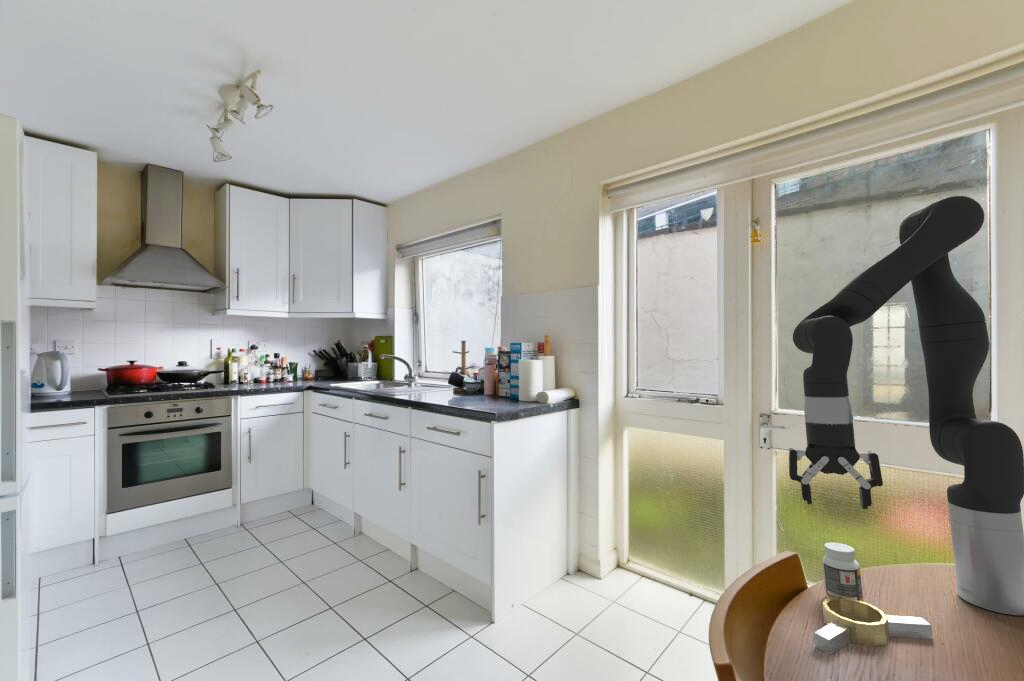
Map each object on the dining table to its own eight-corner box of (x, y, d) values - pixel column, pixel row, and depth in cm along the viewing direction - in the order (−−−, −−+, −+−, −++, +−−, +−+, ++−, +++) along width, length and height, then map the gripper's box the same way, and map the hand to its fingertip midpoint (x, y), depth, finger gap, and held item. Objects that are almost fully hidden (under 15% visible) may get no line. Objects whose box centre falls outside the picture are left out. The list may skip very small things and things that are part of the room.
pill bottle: (870, 610, 78) (865, 553, 79) (835, 608, 79) (830, 552, 80) (852, 594, 84) (848, 541, 84) (819, 592, 85) (815, 540, 85)
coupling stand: (882, 609, 78) (881, 591, 78) (936, 638, 70) (934, 617, 70) (782, 623, 75) (781, 604, 76) (826, 655, 67) (824, 633, 67)
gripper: (870, 418, 84) (878, 504, 83) (783, 417, 90) (790, 496, 89) (880, 423, 77) (889, 516, 76) (786, 421, 84) (793, 507, 83)
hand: (835, 505), depth 83 cm, fingers open, 8 cm apart
